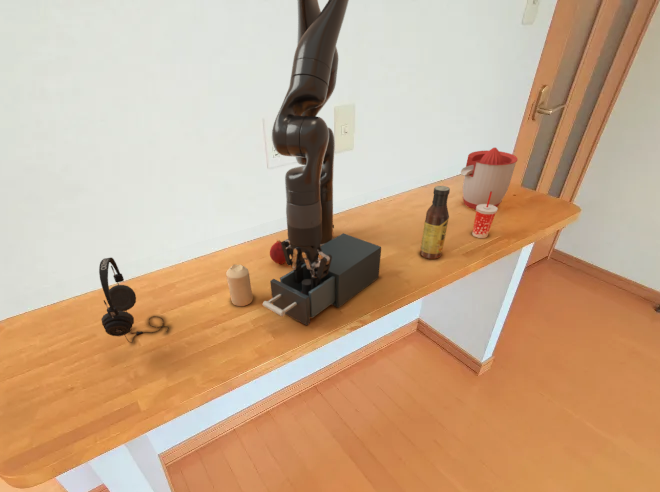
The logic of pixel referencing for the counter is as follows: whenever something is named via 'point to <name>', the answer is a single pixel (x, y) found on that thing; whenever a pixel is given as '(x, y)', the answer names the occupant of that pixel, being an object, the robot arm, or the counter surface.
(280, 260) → the onion
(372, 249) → the cabinet
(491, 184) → the citrus juicer
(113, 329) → the headphones
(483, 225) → the beverage cup
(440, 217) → the sauce bottle
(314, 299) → the drawer
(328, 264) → the robot arm
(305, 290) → the lid
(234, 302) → the candle
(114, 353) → the counter surface
